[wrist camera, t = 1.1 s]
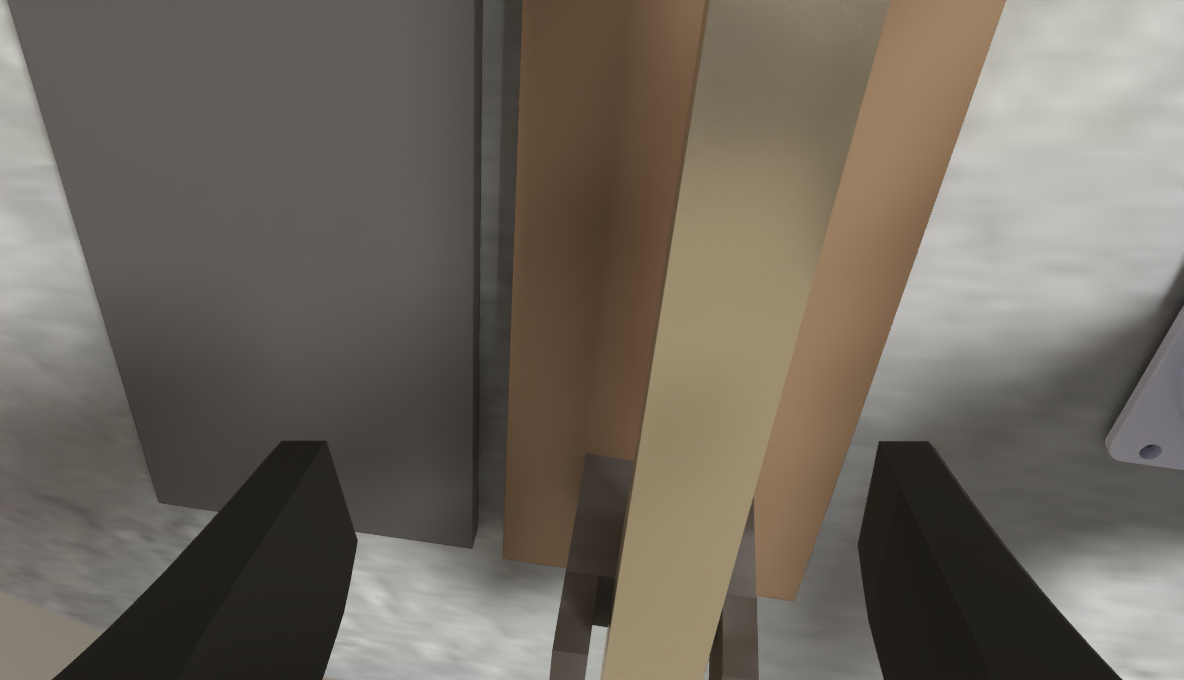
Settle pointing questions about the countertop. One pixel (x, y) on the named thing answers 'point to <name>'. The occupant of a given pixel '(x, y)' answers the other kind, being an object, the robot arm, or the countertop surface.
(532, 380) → the rack
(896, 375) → the countertop surface
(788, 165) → the rail
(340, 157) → the mat
